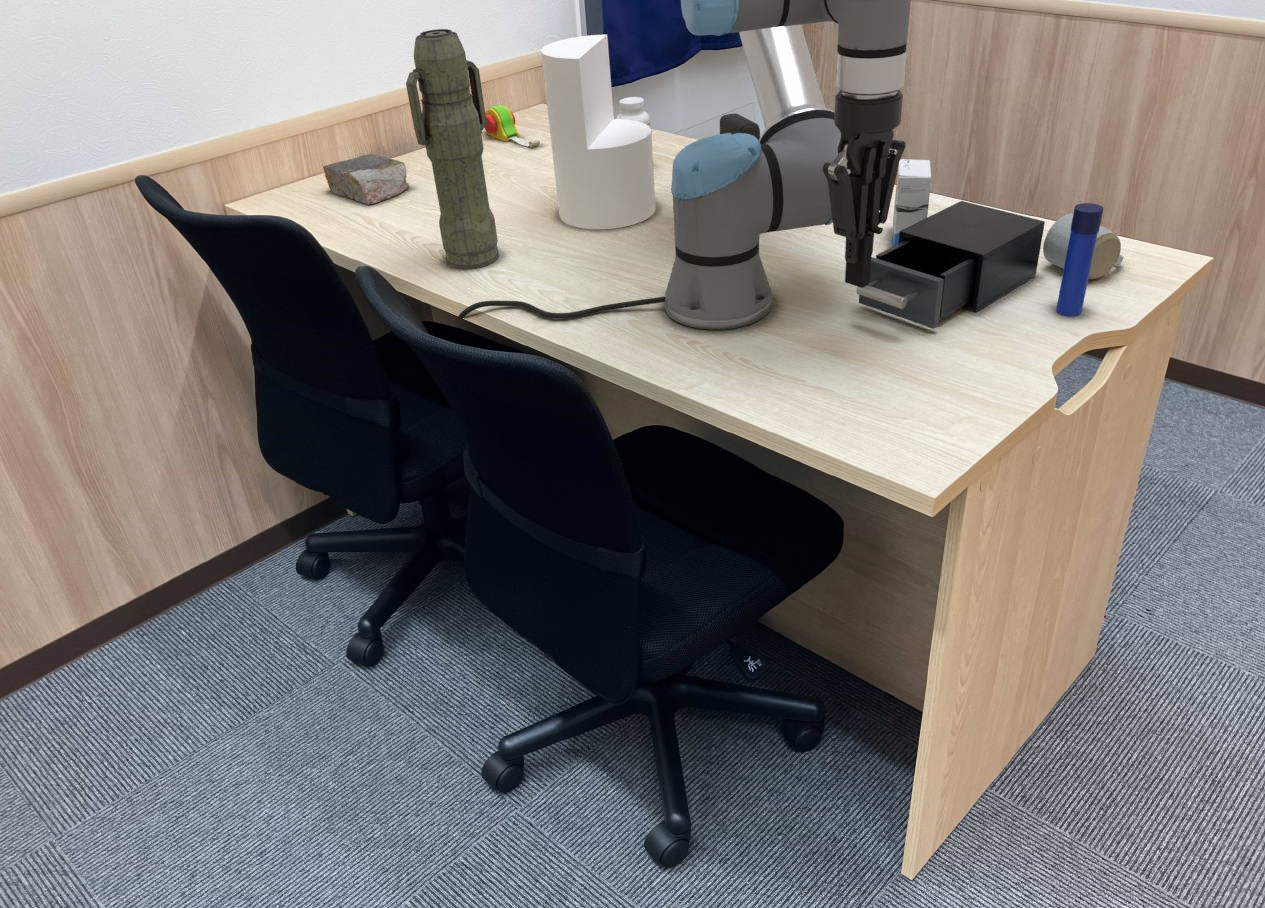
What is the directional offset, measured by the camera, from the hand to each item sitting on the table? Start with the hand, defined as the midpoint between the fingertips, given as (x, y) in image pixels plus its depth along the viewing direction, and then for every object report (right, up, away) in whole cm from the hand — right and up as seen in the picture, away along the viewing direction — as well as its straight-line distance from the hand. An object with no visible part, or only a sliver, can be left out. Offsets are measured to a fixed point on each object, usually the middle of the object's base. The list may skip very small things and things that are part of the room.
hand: (857, 283), depth 126 cm
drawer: (+11, -1, +12) cm, 16 cm away
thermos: (-55, +10, +38) cm, 68 cm away
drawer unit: (+20, +3, +19) cm, 28 cm away
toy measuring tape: (-55, +47, +93) cm, 118 cm away
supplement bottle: (-28, +35, +71) cm, 84 cm away
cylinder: (-33, +22, +52) cm, 66 cm away
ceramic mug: (+38, +5, +20) cm, 43 cm away
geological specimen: (-80, +30, +70) cm, 111 cm away
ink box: (+15, +12, +33) cm, 38 cm away
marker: (+31, -2, +9) cm, 32 cm away
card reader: (-9, +22, +51) cm, 56 cm away
